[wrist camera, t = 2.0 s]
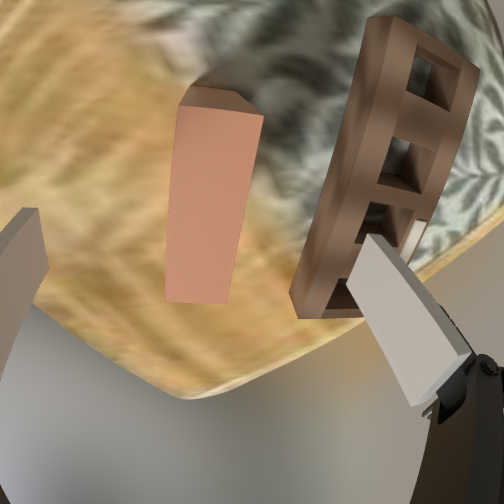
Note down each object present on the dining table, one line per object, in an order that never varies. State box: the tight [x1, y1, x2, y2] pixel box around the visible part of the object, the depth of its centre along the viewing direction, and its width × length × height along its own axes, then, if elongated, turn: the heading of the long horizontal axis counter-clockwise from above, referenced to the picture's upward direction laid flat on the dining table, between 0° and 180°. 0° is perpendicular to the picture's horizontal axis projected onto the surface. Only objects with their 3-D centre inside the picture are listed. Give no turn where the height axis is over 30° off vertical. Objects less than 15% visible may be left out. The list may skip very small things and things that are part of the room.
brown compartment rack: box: [289, 15, 480, 319], centre depth 22 cm, size 25×9×4 cm, turn 169°
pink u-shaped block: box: [165, 86, 264, 304], centre depth 16 cm, size 9×3×10 cm, turn 169°
